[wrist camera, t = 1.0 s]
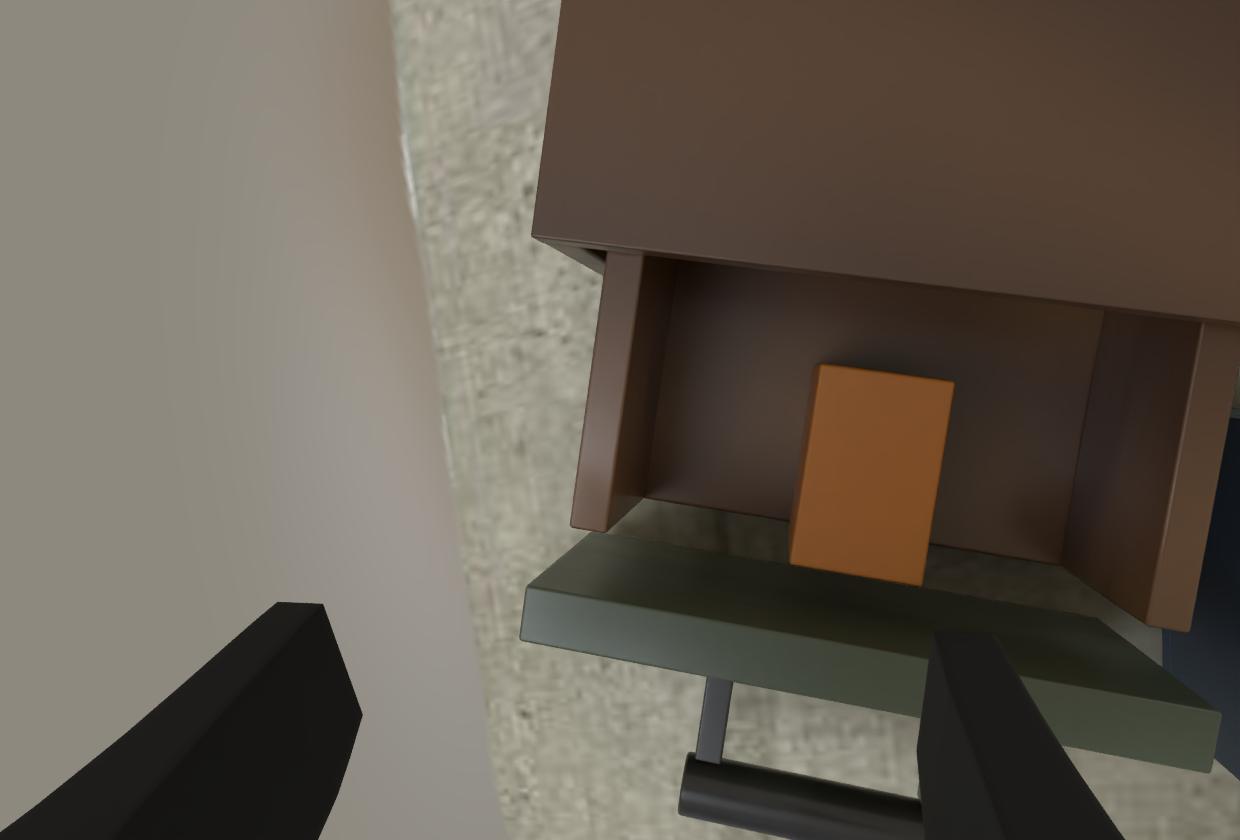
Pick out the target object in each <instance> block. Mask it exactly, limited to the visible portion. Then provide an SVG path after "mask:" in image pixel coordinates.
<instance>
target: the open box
mask: <svg viewBox="0 0 1240 840" xmlns="http://www.w3.org/2000/svg"><path fill="white" fill-rule="evenodd" d="M1162 633H1163V669H1165V670H1166V671H1167V672H1169V673H1170V674H1171V675H1173V676H1174V677H1175V678H1177V679H1178V680H1179V681H1180V682H1182V683H1183V684H1184V685H1186V686H1187V687H1188V688H1190V689H1191V690H1192V691H1194V692H1195V693H1196V694H1197V695H1199V696H1200V697H1201V698H1203V699H1204V700H1205V701H1207V702H1208V703H1209V704H1211V705H1212V706H1213V707H1214V708H1216V709H1217V710H1218V711H1220V712H1221V714H1222V717H1221V722H1220V727H1219V733H1218V738H1217V743H1216V748H1215V754H1214V758H1215V759H1216V760H1217V761H1218V762H1219V763H1220V764H1222V765H1223V766H1224V767H1225V768H1226V769H1227V770H1228V771H1229V772H1231V773H1232V774H1233V775H1234V776H1235V777H1236V778H1237V779H1239V780H1240V409H1231V413H1230V418H1229V424H1228V429H1227V434H1226V440H1225V445H1224V451H1223V456H1222V461H1221V467H1220V472H1219V477H1218V483H1217V488H1216V493H1215V499H1214V504H1213V510H1212V515H1211V520H1210V526H1209V531H1208V536H1207V542H1206V547H1205V552H1204V558H1203V563H1202V568H1201V574H1200V579H1199V585H1198V590H1197V595H1196V601H1195V606H1194V611H1193V617H1192V622H1191V627H1190V631H1189V632H1179V631H1173V630H1168V629H1162Z"/></svg>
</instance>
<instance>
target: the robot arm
mask: <svg viewBox="0 0 1240 840" xmlns="http://www.w3.org/2000/svg"><path fill="white" fill-rule="evenodd" d="M362 715H363V714H362V711H361V708H360V706H359V703H358V700H357V697H356V695H355V692H354V689H353V686H352V684H351V681H350V678H349V675H348V672H347V670H346V667H345V664H344V661H343V658H342V656H341V653H340V650H339V647H338V644H337V642H336V639H335V636H334V633H333V631H332V628H331V625H330V622H329V619H328V617H327V614H326V611H325V608H324V605H323V604H314V603H291V602H277V603H276V604H274V605H273V606H272V607H271V608H270V609H268V610H267V611H266V612H265V613H264V614H262V615H261V616H260V617H259V618H258V619H256V621H254V622H253V623H252V624H251V625H250V626H248V627H247V628H246V629H245V630H244V631H243V632H241V633H240V634H239V635H238V636H237V637H236V638H235V639H233V640H232V641H231V642H230V643H229V644H228V645H227V646H225V647H224V648H223V649H222V650H221V651H220V652H219V653H218V654H216V655H215V656H214V657H213V658H212V659H211V660H210V661H208V662H207V663H206V664H205V665H204V666H203V667H202V668H201V669H199V670H198V671H197V672H196V673H195V674H194V675H193V676H192V677H190V678H189V679H188V680H187V681H186V682H185V683H184V684H182V685H181V686H180V687H179V688H178V689H177V690H175V691H174V692H173V693H172V694H171V695H170V696H168V697H167V698H166V699H165V700H164V701H163V702H161V703H160V704H159V705H158V706H157V707H156V708H155V709H153V710H152V711H151V712H150V713H149V714H148V715H146V716H145V717H144V718H143V719H142V720H141V721H139V722H138V723H137V724H136V725H135V726H134V727H132V728H131V729H130V730H129V731H128V732H127V733H125V734H124V735H123V736H122V737H121V738H119V739H118V740H117V741H116V742H114V743H113V744H112V745H111V746H109V747H108V748H107V749H106V750H105V751H103V752H102V753H101V754H100V755H98V756H97V757H96V758H95V759H93V760H92V761H91V762H90V763H88V764H87V765H86V766H85V767H83V768H82V769H81V770H80V771H78V772H77V773H76V774H75V775H74V776H72V777H71V778H70V779H68V780H67V781H66V782H65V783H63V785H61V786H60V787H59V788H57V789H56V790H55V791H54V792H52V793H51V794H50V795H49V796H47V797H46V798H45V799H44V800H42V801H41V802H40V803H39V804H37V805H36V806H35V807H34V808H32V809H31V810H30V811H28V812H27V813H25V814H24V815H23V816H21V817H20V818H19V819H17V820H16V821H15V822H14V823H12V824H11V825H9V826H8V827H7V828H5V829H4V830H3V831H1V832H0V840H318V838H319V836H320V834H321V832H322V829H323V827H324V825H325V823H326V820H327V818H328V816H329V814H330V811H331V809H332V807H333V805H334V802H335V800H336V797H337V795H338V793H339V790H340V787H341V783H342V780H343V777H344V774H345V771H346V768H347V765H348V762H349V759H350V756H351V753H352V749H353V746H354V743H355V739H356V736H357V732H358V729H359V725H360V722H361V719H362ZM917 760H918V772H919V783H920V795H921V805H922V815H923V825H924V836H925V840H1125V839H1124V837H1123V836H1122V835H1121V833H1120V832H1119V830H1118V829H1117V828H1116V826H1115V825H1114V823H1113V822H1112V820H1111V819H1110V817H1109V816H1108V814H1107V813H1106V812H1105V810H1104V809H1103V807H1102V806H1101V804H1100V803H1099V801H1098V800H1097V798H1096V797H1095V795H1094V794H1093V793H1092V791H1091V790H1090V788H1089V787H1088V785H1087V784H1086V782H1085V781H1084V779H1083V778H1082V777H1081V775H1080V774H1079V772H1078V771H1077V769H1076V768H1075V766H1074V765H1073V763H1072V761H1071V760H1070V758H1069V757H1068V755H1067V754H1066V752H1065V751H1064V749H1063V748H1062V746H1061V745H1060V743H1059V741H1058V740H1057V738H1056V737H1055V735H1054V733H1053V732H1052V730H1051V728H1050V727H1049V725H1048V724H1047V722H1046V720H1045V719H1044V717H1043V716H1042V714H1041V712H1040V711H1039V709H1038V707H1037V706H1036V704H1035V702H1034V701H1033V699H1032V697H1031V696H1030V694H1029V692H1028V691H1027V689H1026V687H1025V685H1024V684H1023V682H1022V680H1021V678H1020V677H1019V675H1018V673H1017V671H1016V670H1015V668H1014V666H1013V664H1012V662H1011V661H1010V659H1009V657H1008V655H1007V653H1006V651H1005V649H1004V647H1003V646H1002V644H1001V642H1000V641H999V640H998V639H997V638H996V637H995V636H994V635H993V634H992V633H984V632H961V631H938V630H933V632H932V639H931V647H930V654H929V662H928V669H927V677H926V684H925V692H924V699H923V706H922V714H921V721H920V729H919V736H918V744H917Z"/></svg>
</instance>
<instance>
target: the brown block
mask: <svg viewBox="0 0 1240 840" xmlns="http://www.w3.org/2000/svg"><path fill="white" fill-rule="evenodd" d="M954 389H955V382H954V381H952V380H945V379H938V378H931V377H923V376H916V375H909V374H901V373H894V372H887V371H879V370H872V369H864V368H857V367H850V366H842V365H835V364H828V363H822V364H818V365H814V367H813V370H812V376H811V383H810V390H809V396H808V403H807V409H806V416H805V422H804V429H803V435H802V442H801V448H800V455H799V461H798V468H797V474H796V481H795V487H794V494H793V500H792V507H791V513H790V520H789V527H788V544H789V561H790V564H792V565H796V566H802V567H807V568H813V569H819V570H825V571H831V572H837V573H842V574H848V575H854V576H860V577H866V578H872V579H877V580H883V581H889V582H895V583H901V584H907V585H913V586H921V585H922V583H923V578H924V572H925V565H926V559H927V553H928V547H929V541H930V535H931V529H932V523H933V517H934V511H935V505H936V499H937V493H938V486H939V480H940V474H941V468H942V462H943V456H944V450H945V444H946V438H947V432H948V426H949V420H950V414H951V408H952V401H953V395H954Z"/></svg>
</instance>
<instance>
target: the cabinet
mask: <svg viewBox="0 0 1240 840" xmlns="http://www.w3.org/2000/svg"><path fill="white" fill-rule="evenodd" d="M531 236H532V237H533V238H535V239H537V240H538V241H540V242H542V243H545V244H547V245H549V246H551V247H553V248H554V249H556V250H558V251H560V252H561V253H563V254H565V255H567V256H569V257H570V258H572V259H574V260H576V261H578V262H579V263H581V264H583V265H585V266H586V267H588V268H590V269H592V270H594V271H595V272H597V273H599V274H601V275H603V276H604V269H605V262H606V255H607V251H615V252H623V253H631V254H639V255H648V256H656V257H664V258H673V259H681V260H689V261H697V262H706V263H714V264H722V265H730V266H739V267H747V268H755V269H763V270H772V271H780V272H788V273H797V274H805V275H813V276H821V277H830V278H838V279H846V280H854V281H863V282H871V283H879V284H887V285H896V286H904V287H912V288H921V289H929V290H937V291H945V292H954V293H962V294H970V295H978V296H987V297H995V298H1003V299H1011V300H1020V301H1028V302H1036V303H1045V304H1053V305H1061V306H1069V307H1078V308H1086V309H1094V310H1102V311H1111V312H1119V313H1127V314H1135V315H1144V316H1152V317H1160V318H1168V319H1177V320H1185V321H1193V322H1202V323H1210V324H1218V325H1226V326H1235V327H1240V0H562V2H561V9H560V17H559V25H558V32H557V40H556V48H555V56H554V63H553V71H552V79H551V86H550V94H549V102H548V109H547V117H546V125H545V133H544V140H543V148H542V156H541V163H540V171H539V179H538V186H537V194H536V202H535V210H534V217H533V225H532V233H531Z"/></svg>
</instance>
